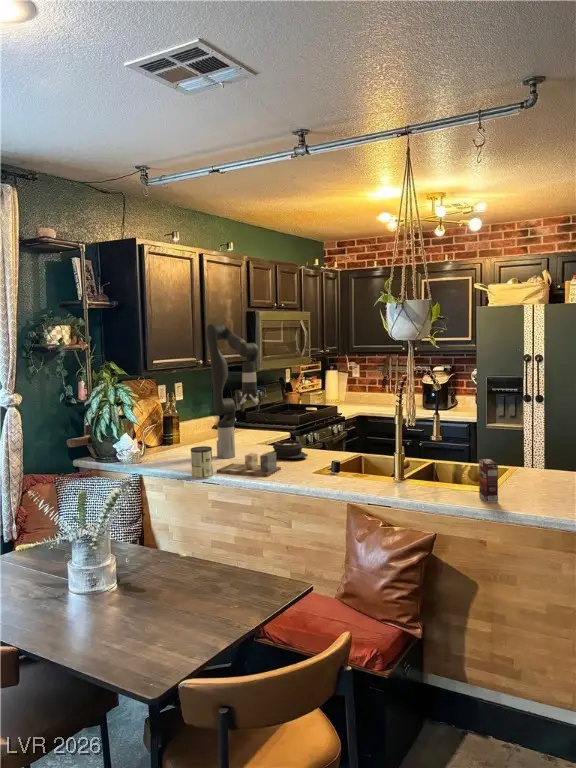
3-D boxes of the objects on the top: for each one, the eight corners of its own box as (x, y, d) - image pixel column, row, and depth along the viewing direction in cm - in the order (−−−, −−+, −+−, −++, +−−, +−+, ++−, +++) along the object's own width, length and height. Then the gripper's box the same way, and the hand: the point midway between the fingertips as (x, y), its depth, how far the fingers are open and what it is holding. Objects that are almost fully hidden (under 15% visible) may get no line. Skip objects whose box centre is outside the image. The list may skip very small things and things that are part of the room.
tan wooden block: (241, 470, 304) (241, 456, 303) (250, 466, 313) (250, 453, 312) (248, 471, 302) (248, 457, 302) (257, 467, 311) (257, 453, 311)
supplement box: (478, 497, 251) (478, 459, 250) (490, 497, 251) (490, 458, 250) (486, 503, 242) (486, 463, 241) (498, 502, 243) (498, 463, 241)
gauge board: (216, 472, 308) (216, 454, 308) (232, 466, 323) (231, 448, 322) (267, 476, 297) (266, 457, 296) (280, 469, 312) (280, 451, 311)
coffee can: (197, 473, 308) (196, 445, 307) (216, 474, 304) (215, 446, 303) (187, 478, 298) (186, 449, 297) (207, 479, 295) (206, 450, 294)
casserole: (261, 457, 346) (260, 442, 345) (285, 452, 358) (285, 437, 358) (290, 463, 327) (290, 447, 327) (315, 457, 340) (315, 442, 339)
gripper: (234, 381, 324) (235, 412, 325) (258, 381, 318) (259, 412, 320) (240, 380, 331) (241, 410, 332) (264, 380, 325) (265, 411, 327)
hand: (250, 411), depth 326 cm, fingers open, 8 cm apart
